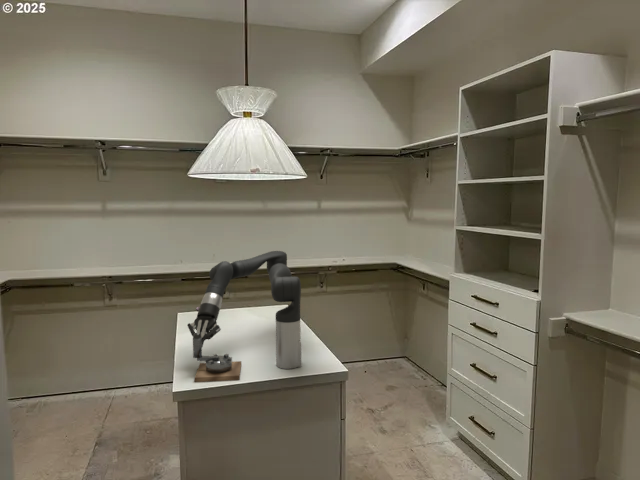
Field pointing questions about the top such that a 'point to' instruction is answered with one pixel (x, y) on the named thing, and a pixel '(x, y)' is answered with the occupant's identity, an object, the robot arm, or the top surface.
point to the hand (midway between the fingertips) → (197, 348)
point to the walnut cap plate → (228, 375)
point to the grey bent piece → (211, 357)
